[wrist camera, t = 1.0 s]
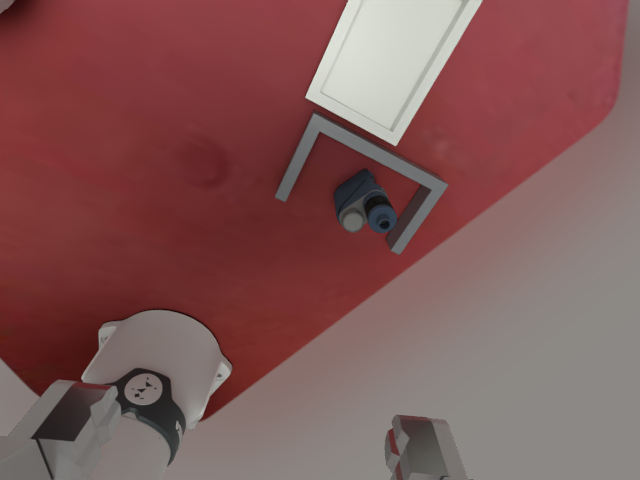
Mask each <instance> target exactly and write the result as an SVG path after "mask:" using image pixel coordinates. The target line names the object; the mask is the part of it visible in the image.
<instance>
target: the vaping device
mask: <svg viewBox="0 0 640 480" xmlns="http://www.w3.org/2000/svg"><path fill="white" fill-rule="evenodd" d="M334 200H335V208H336V216H337V220H338V222H339V223H340V224H341V225H342V226H343V227H344V229H345V230H346V231H348V232H357V231H359V230H360V229H361V228H362V227H363V225H364V224H365V223H367V222H368V223H369V226H370V228H371V229H372V230H374V231H375V232H378V233H385V232H388V231H390V230H391V229H393V228H394V226H395V225H396V222H397V215H396V213H395V211H394V209H393V207H392V205H391V204H390V202H389V199H388V196H387V193H386V192H385V190H384V189H383V188H382V187H381V186H379V185H378V184H377V183H375V178H374V176H373V174H372V173H371V172H370V171H368V170H367V169H364V170H362V171H360V172H359V173H357V174H356V175H354V176H353V177H352V178H350V179H349V180H347V181H346V182H344V183H343V184H342V185H340V186H339V187H338V188H337V189H336V191H335V193H334Z"/></svg>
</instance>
